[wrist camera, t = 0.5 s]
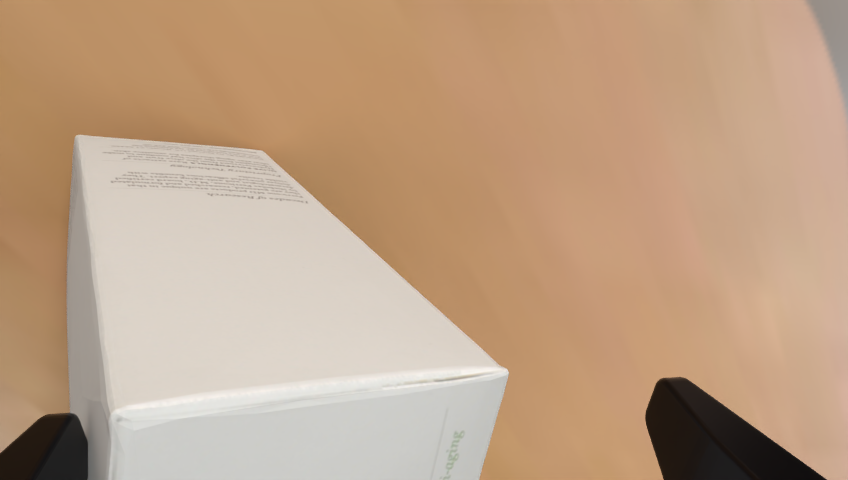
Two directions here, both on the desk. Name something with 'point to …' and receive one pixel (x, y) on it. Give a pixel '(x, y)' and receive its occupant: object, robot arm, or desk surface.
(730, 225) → the desk surface
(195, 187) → the skincare box
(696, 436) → the robot arm
